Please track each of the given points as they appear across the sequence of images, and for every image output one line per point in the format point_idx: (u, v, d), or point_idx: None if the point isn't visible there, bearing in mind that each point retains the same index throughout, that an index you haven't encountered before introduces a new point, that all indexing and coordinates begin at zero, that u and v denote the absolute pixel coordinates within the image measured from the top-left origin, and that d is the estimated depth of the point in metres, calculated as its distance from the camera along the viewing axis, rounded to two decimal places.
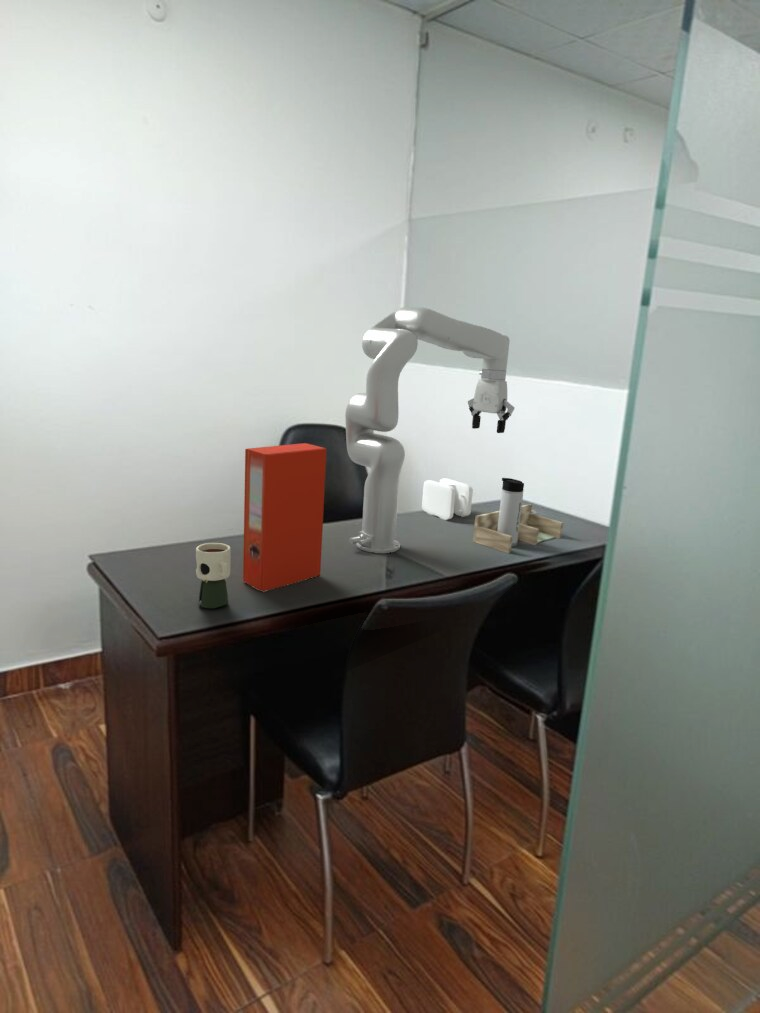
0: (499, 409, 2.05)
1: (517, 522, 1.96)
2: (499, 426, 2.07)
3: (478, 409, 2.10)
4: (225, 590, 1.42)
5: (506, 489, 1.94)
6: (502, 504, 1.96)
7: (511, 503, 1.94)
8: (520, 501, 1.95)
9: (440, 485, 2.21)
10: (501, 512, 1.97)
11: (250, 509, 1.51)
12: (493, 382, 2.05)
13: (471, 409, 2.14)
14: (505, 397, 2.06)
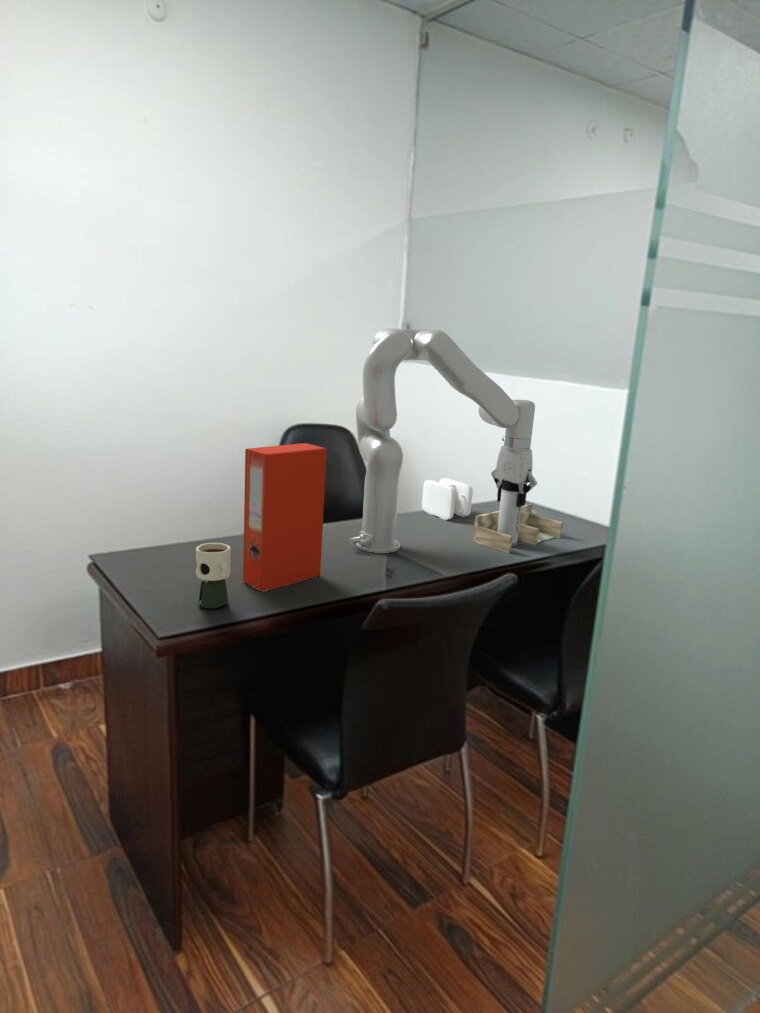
0: (524, 480, 1.90)
1: (517, 522, 1.96)
2: (519, 499, 1.93)
3: (501, 478, 1.95)
4: (225, 590, 1.42)
5: (506, 489, 1.94)
6: (502, 504, 1.96)
7: (511, 503, 1.94)
8: None
9: (440, 485, 2.21)
10: (501, 512, 1.97)
11: (250, 509, 1.51)
12: (517, 451, 1.90)
13: (496, 480, 1.99)
14: (530, 467, 1.91)
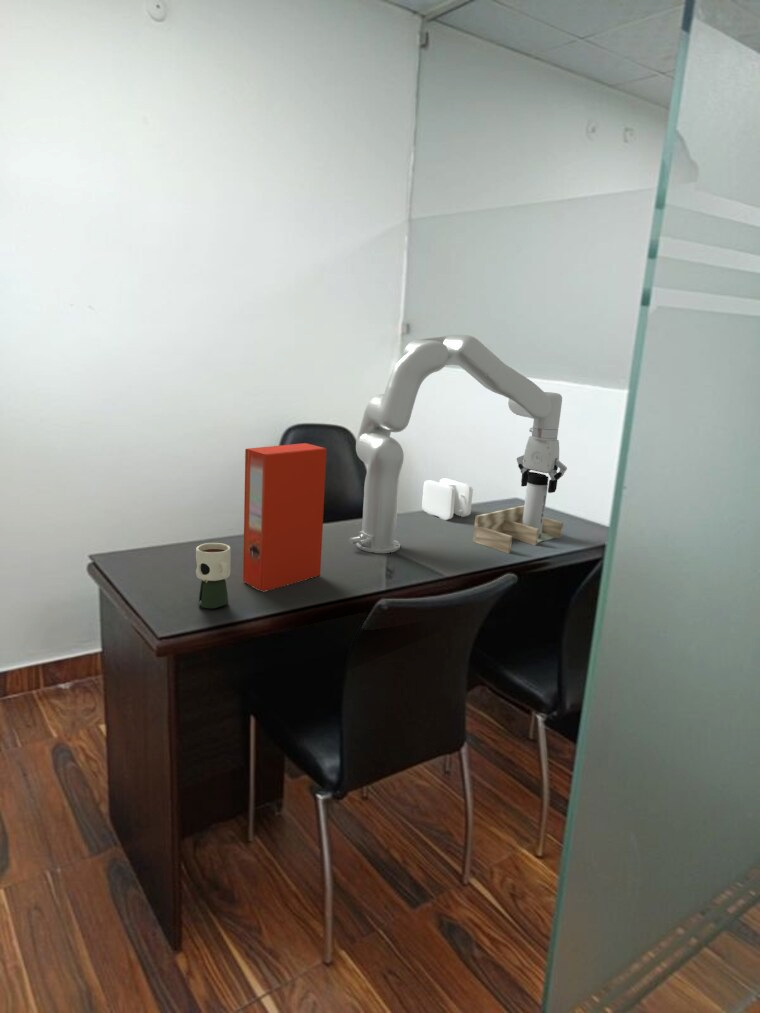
0: (551, 469, 1.99)
1: (542, 514, 2.06)
2: (550, 486, 2.01)
3: (528, 467, 2.04)
4: (225, 590, 1.42)
5: (531, 482, 2.03)
6: (527, 497, 2.05)
7: (536, 496, 2.03)
8: (545, 494, 2.04)
9: (440, 485, 2.21)
10: (526, 504, 2.06)
11: (250, 509, 1.51)
12: (545, 441, 1.99)
13: (520, 466, 2.08)
14: (557, 456, 2.00)
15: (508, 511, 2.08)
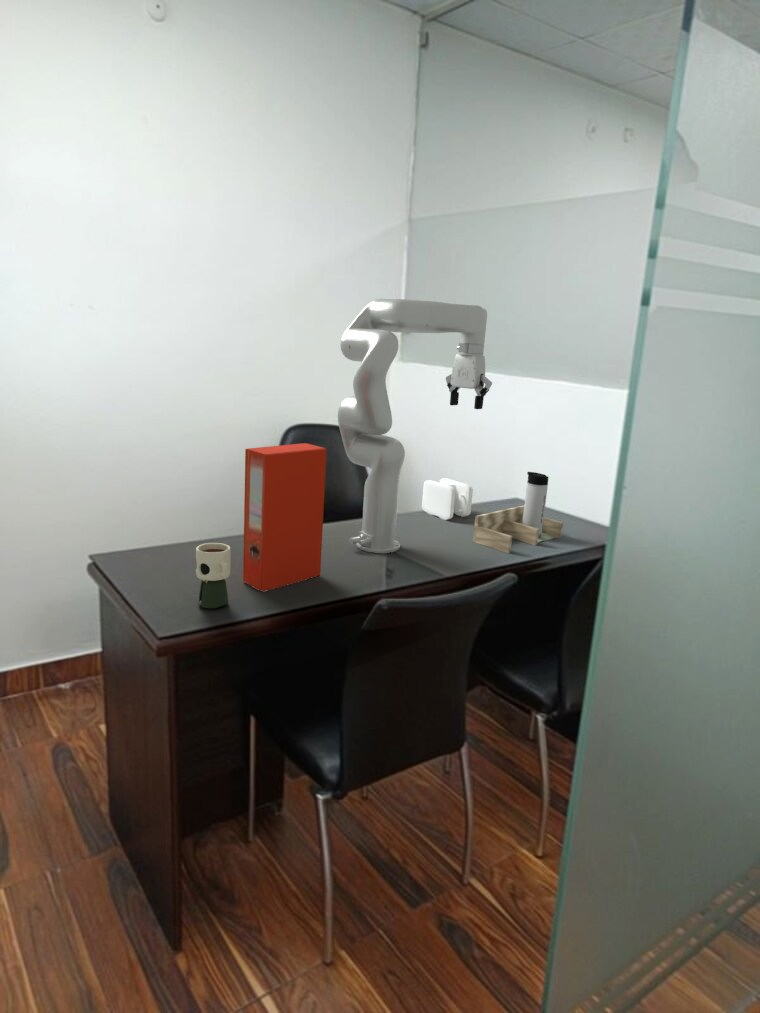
0: (476, 384, 1.99)
1: (542, 514, 2.06)
2: (477, 402, 2.01)
3: (455, 385, 2.04)
4: (225, 590, 1.42)
5: (531, 482, 2.03)
6: (527, 497, 2.05)
7: (536, 496, 2.03)
8: (545, 494, 2.04)
9: (440, 485, 2.21)
10: (526, 504, 2.06)
11: (250, 509, 1.51)
12: (470, 356, 1.99)
13: (449, 385, 2.08)
14: (483, 372, 2.00)
15: (508, 511, 2.08)
